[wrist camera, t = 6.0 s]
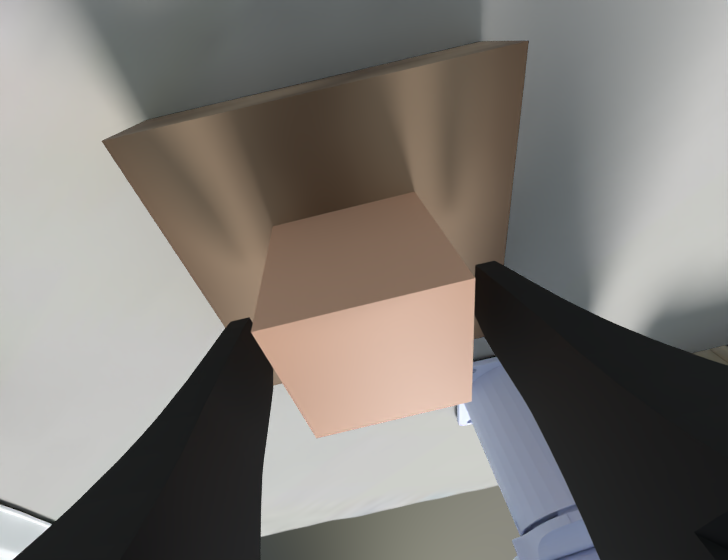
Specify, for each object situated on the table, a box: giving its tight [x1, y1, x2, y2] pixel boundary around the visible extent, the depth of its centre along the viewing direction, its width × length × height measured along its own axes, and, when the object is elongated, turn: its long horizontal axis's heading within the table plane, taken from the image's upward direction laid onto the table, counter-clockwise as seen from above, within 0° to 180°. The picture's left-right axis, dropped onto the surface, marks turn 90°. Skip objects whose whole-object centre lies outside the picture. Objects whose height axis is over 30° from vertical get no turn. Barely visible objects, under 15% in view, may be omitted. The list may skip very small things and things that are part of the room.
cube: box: [251, 192, 475, 438], centre depth 10 cm, size 5×5×5 cm
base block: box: [102, 41, 529, 385], centre depth 13 cm, size 12×12×3 cm
